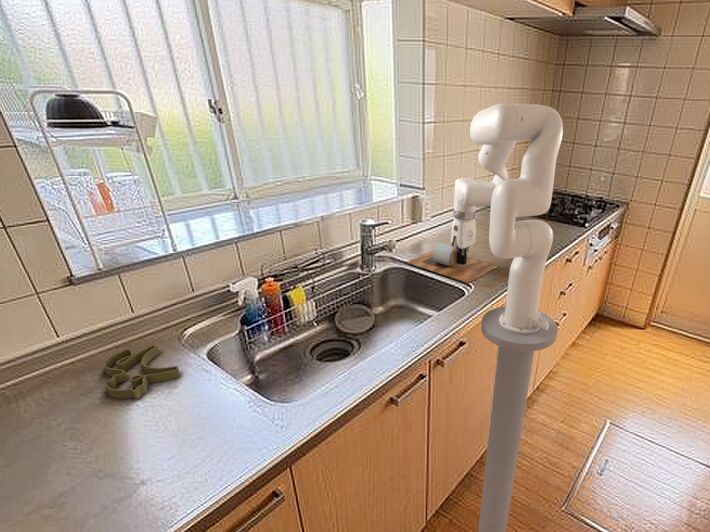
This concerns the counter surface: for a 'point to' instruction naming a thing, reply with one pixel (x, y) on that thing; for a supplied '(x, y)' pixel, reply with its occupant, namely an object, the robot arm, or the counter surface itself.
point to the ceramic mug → (444, 254)
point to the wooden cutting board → (454, 268)
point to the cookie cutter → (138, 381)
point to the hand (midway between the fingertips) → (461, 263)
